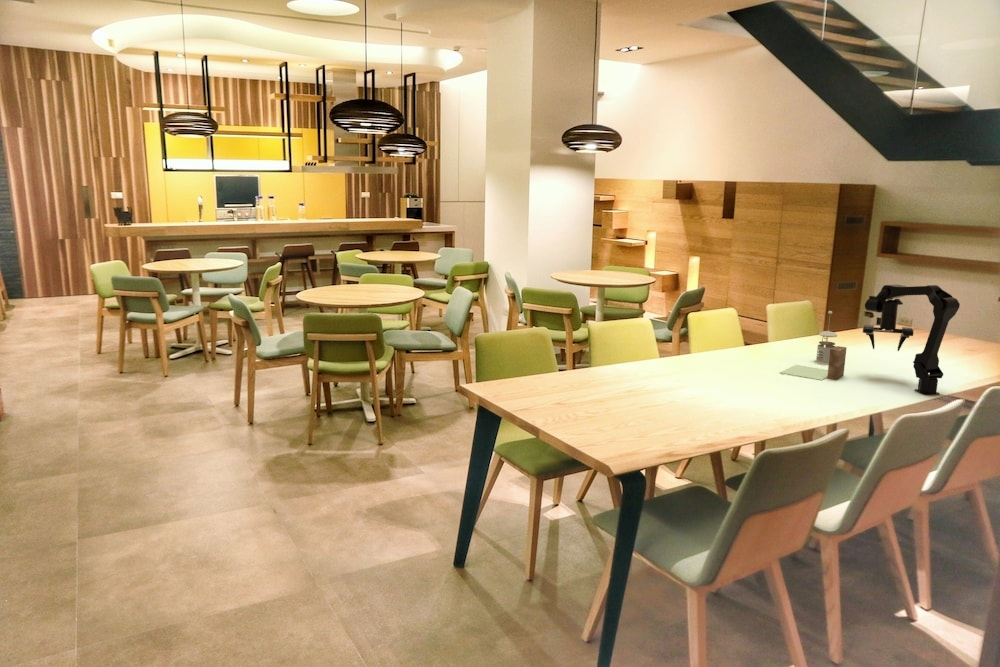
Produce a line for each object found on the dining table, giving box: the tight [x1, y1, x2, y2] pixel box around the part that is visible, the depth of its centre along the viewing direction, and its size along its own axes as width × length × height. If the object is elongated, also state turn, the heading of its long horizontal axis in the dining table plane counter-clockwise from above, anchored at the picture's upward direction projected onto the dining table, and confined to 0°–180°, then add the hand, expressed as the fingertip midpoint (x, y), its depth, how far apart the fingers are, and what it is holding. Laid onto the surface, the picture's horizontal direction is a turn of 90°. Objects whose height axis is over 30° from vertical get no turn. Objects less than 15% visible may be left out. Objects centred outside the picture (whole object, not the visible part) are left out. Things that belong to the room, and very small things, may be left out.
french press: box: [813, 310, 838, 366], centre depth 328 cm, size 10×12×25 cm
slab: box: [826, 345, 848, 381], centre depth 302 cm, size 4×9×13 cm, turn 138°
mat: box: [779, 364, 828, 381], centre depth 311 cm, size 18×20×1 cm
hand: (885, 350), depth 297 cm, fingers open, 9 cm apart
